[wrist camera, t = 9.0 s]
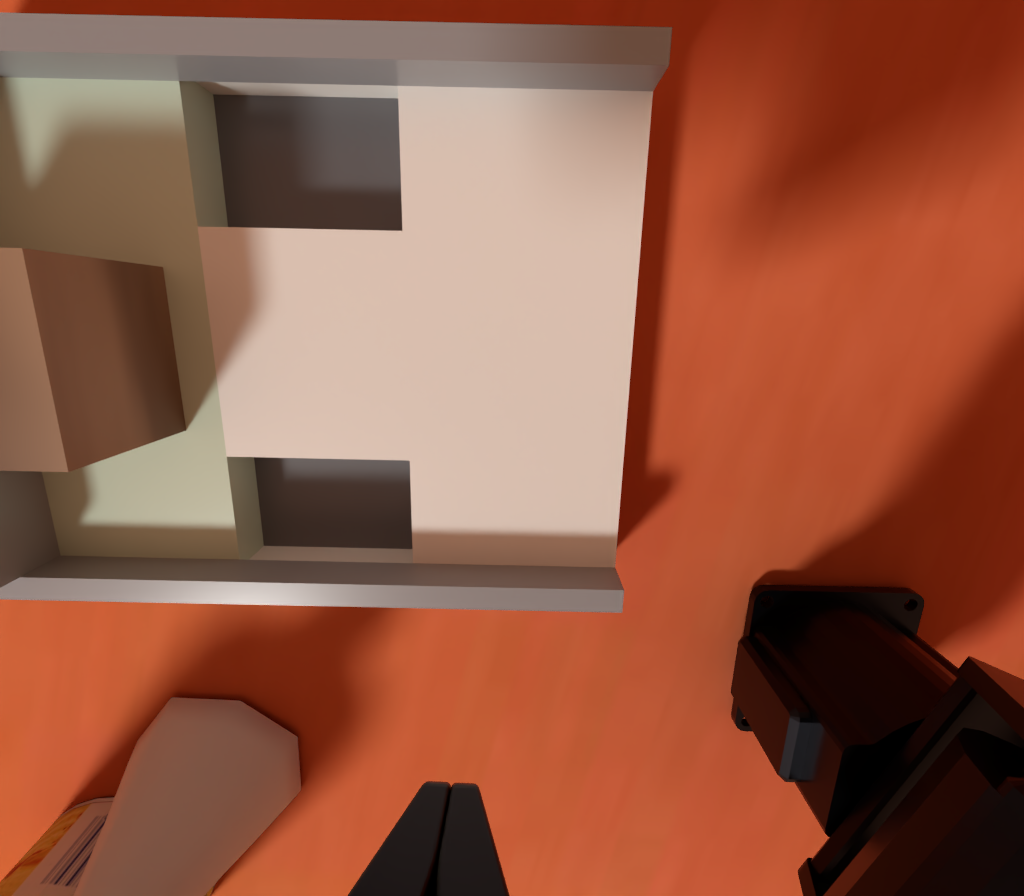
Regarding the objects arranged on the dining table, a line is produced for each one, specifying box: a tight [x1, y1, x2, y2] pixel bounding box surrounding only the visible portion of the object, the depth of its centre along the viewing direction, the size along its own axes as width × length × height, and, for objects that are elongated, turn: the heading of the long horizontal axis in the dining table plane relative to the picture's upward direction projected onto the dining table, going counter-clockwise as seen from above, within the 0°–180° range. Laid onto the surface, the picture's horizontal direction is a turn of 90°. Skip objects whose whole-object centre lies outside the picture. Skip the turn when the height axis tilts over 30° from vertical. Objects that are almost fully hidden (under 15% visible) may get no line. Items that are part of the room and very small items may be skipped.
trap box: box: [0, 13, 672, 613], centre depth 16 cm, size 20×16×4 cm
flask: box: [73, 697, 301, 896], centre depth 18 cm, size 7×7×10 cm
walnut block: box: [0, 248, 186, 472], centre depth 14 cm, size 5×5×4 cm
